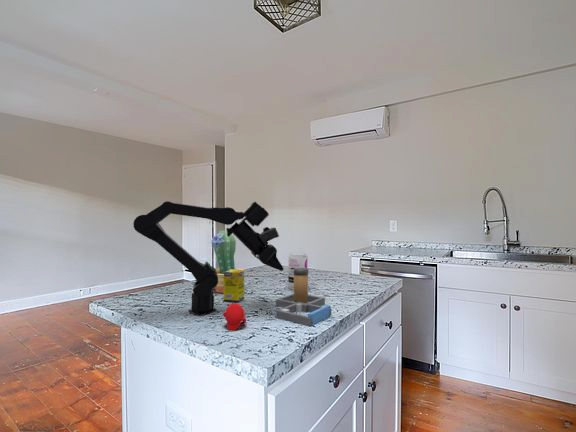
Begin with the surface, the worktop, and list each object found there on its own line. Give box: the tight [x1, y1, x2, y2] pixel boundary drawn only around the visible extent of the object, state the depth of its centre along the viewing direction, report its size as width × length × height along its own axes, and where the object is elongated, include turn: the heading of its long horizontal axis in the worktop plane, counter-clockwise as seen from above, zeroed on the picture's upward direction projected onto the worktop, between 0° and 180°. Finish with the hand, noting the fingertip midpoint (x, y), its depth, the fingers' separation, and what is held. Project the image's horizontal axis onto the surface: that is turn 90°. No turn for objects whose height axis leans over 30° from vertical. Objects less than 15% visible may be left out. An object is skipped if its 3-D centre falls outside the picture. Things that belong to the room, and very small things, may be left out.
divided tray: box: [275, 293, 332, 327], centre depth 104 cm, size 22×20×3 cm
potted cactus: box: [211, 230, 243, 294], centre depth 132 cm, size 15×15×25 cm
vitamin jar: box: [293, 267, 309, 303], centre depth 111 cm, size 5×5×13 cm
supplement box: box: [223, 269, 245, 304], centre depth 116 cm, size 6×6×11 cm
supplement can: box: [287, 252, 308, 291], centre depth 136 cm, size 8×8×15 cm
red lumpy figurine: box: [222, 302, 247, 332], centre depth 89 cm, size 8×6×6 cm
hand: (279, 267), depth 109 cm, fingers open, 9 cm apart
